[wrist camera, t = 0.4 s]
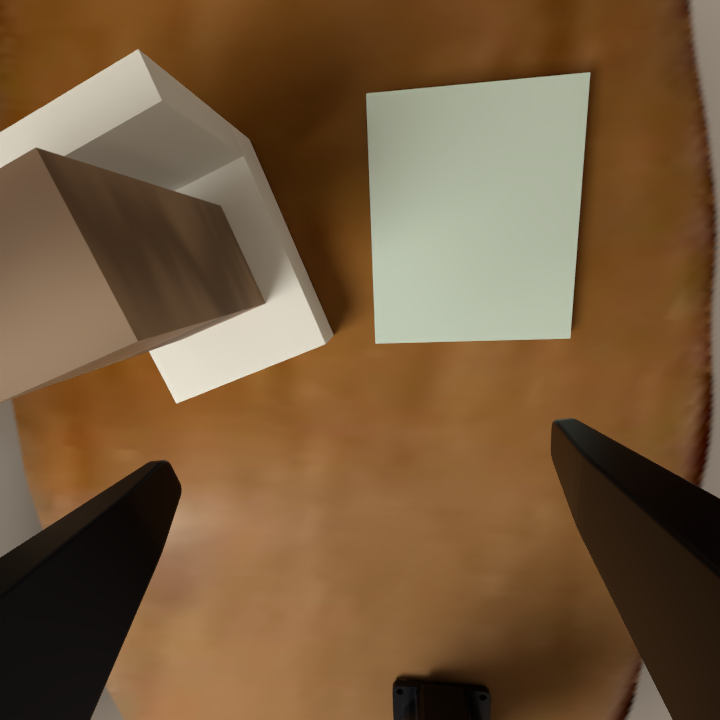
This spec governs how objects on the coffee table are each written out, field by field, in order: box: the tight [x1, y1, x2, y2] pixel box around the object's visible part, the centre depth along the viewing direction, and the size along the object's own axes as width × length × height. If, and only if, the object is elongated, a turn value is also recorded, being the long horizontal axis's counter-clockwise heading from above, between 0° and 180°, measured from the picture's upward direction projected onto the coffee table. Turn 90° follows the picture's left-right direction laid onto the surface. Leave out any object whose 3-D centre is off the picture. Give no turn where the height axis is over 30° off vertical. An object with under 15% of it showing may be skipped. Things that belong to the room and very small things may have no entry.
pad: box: [366, 72, 590, 343], centre depth 20 cm, size 12×10×1 cm
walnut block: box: [0, 148, 266, 403], centre depth 15 cm, size 5×5×10 cm
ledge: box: [0, 49, 334, 403], centre depth 18 cm, size 11×9×9 cm
